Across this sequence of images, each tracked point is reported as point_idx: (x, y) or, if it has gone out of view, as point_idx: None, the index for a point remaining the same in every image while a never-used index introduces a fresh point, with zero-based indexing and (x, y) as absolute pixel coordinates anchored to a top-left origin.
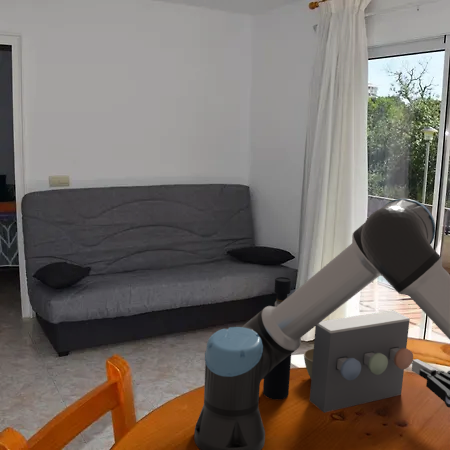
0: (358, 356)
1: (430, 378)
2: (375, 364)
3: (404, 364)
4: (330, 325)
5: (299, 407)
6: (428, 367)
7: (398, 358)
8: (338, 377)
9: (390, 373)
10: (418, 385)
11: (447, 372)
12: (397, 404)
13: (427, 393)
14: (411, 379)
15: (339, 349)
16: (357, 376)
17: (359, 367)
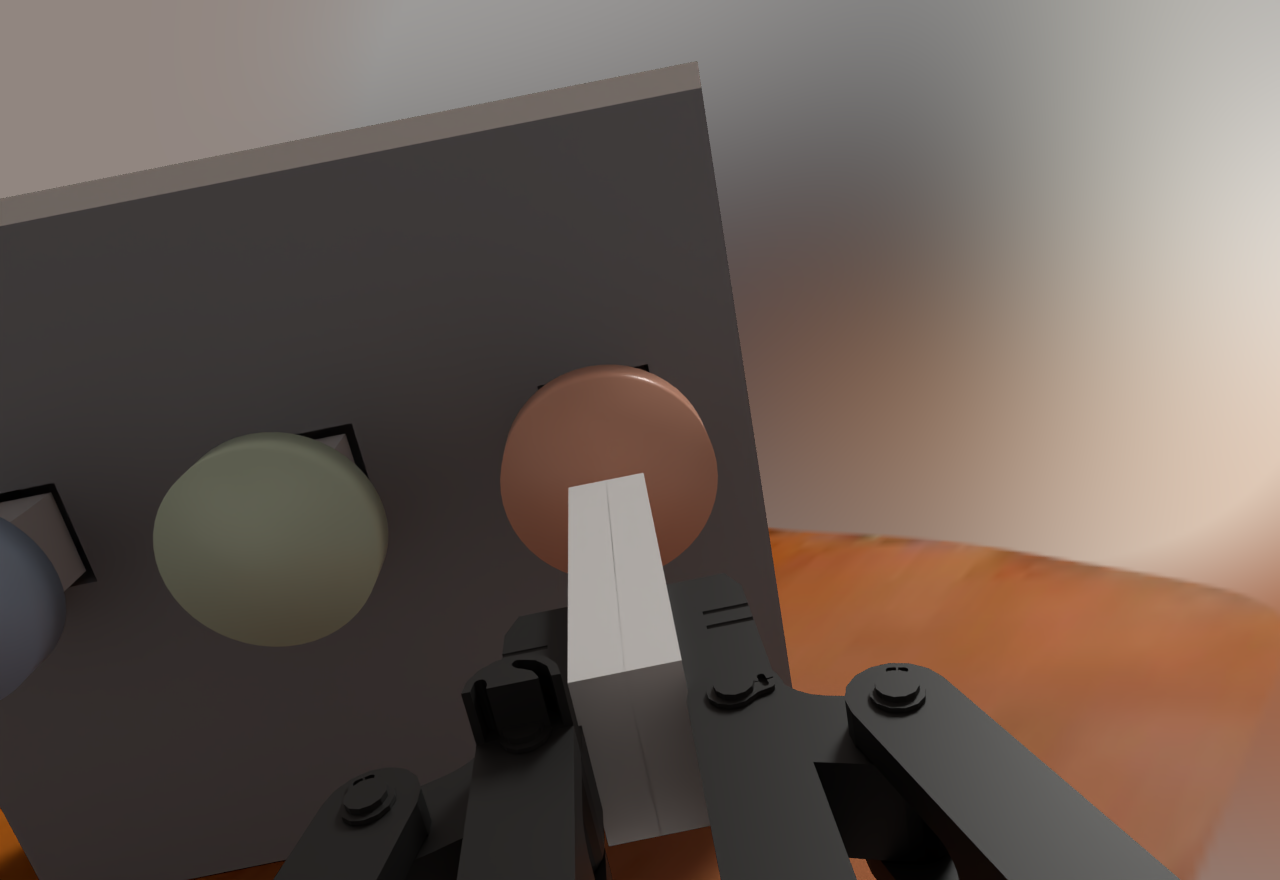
0: None
1: (293, 865)
2: (209, 552)
3: None
4: None
5: (5, 833)
6: (601, 595)
7: (507, 476)
8: (54, 659)
9: None
10: (1021, 665)
11: (851, 699)
12: (678, 869)
13: (1052, 753)
14: (999, 610)
15: None
16: (28, 674)
17: (2, 591)
